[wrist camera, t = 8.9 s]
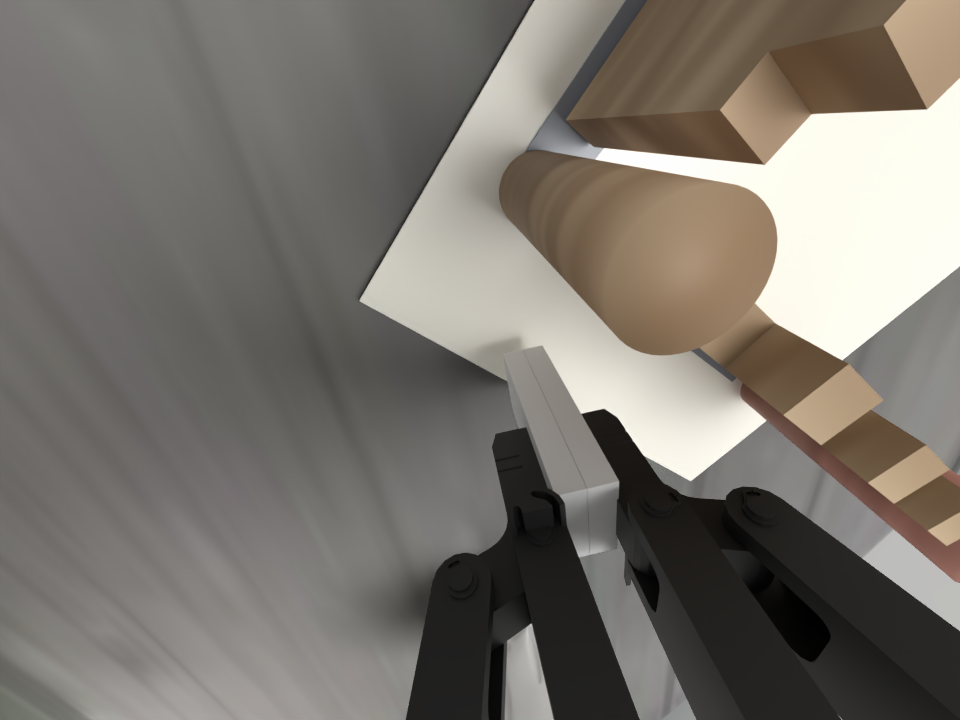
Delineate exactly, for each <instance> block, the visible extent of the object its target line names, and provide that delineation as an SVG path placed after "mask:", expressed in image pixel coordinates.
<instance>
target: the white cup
mask: <svg viewBox="0 0 960 720" xmlns="http://www.w3.org/2000/svg"><path fill="white" fill-rule="evenodd" d="M505 720H554V719H553V715H552V710H551V706H550V702H549V697H548V693H547V688H546V684H545V680H544V675H543V671H542V667H541V662H540V658H539V653H538V649H537V645H536V640H535V636H534V632H533V627H532V623H531V624H530V625H529V626H527V627H526V628H524V629H523V630H522V631H520V632H519V633H517V634H516V635H515V636H513V637H512V638H510V639H509V640H508V641H507V665H506V694H505Z"/></svg>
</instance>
